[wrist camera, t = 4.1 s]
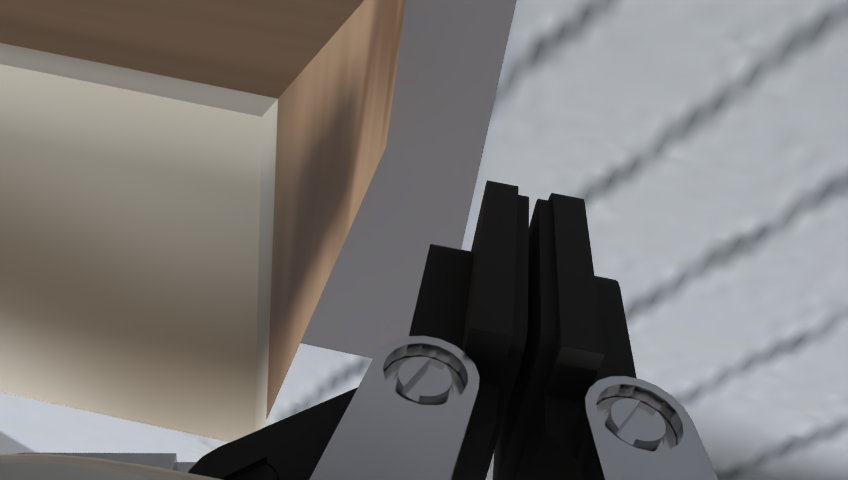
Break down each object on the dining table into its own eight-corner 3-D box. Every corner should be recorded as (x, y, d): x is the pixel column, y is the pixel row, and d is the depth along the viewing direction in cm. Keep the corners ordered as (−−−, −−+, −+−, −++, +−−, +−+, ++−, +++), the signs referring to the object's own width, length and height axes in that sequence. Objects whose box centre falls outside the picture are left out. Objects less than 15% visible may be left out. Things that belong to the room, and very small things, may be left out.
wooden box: (195, -98, 18) (-218, 20, 8) (413, -56, 18) (262, 116, 8) (201, 109, 22) (-89, 373, 12) (386, 146, 21) (254, 447, 11)
